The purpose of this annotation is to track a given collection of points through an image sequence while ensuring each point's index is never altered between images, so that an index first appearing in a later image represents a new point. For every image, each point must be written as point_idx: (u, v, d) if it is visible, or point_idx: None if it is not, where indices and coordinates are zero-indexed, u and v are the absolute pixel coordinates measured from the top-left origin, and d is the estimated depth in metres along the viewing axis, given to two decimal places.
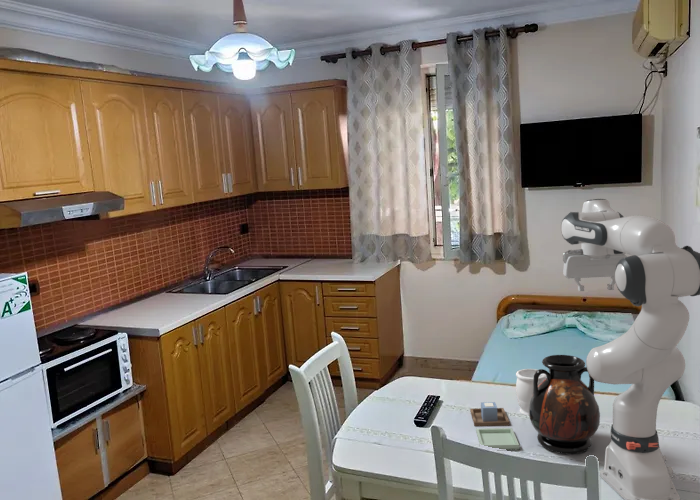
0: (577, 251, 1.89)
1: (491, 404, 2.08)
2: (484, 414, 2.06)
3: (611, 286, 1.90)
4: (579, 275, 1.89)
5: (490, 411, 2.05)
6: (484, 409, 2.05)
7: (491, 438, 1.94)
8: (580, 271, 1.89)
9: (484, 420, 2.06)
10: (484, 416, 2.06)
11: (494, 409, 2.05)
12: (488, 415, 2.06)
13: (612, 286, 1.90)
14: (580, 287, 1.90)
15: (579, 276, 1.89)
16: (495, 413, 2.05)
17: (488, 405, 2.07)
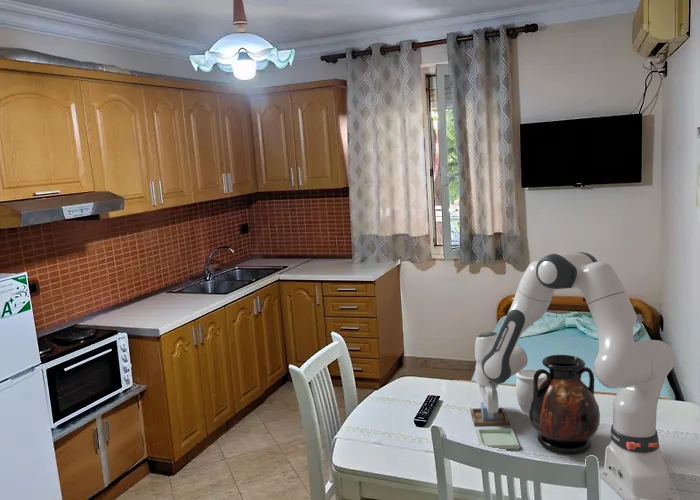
0: (492, 384, 2.00)
1: None
2: (484, 414, 2.06)
3: None
4: None
5: None
6: (484, 409, 2.05)
7: (491, 438, 1.94)
8: None
9: (484, 420, 2.06)
10: (484, 416, 2.06)
11: None
12: None
13: None
14: None
15: None
16: (495, 413, 2.05)
17: None
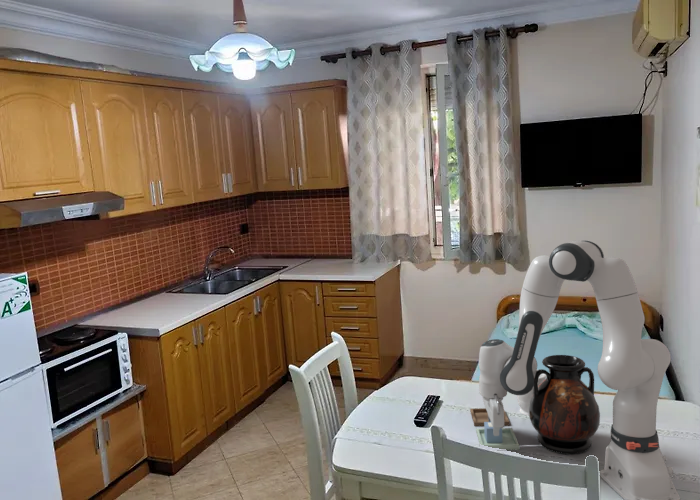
0: (497, 397, 1.84)
1: None
2: (488, 435, 1.90)
3: None
4: None
5: None
6: (488, 430, 1.90)
7: None
8: None
9: (488, 441, 1.90)
10: (488, 437, 1.90)
11: None
12: (492, 436, 1.90)
13: None
14: (498, 431, 1.87)
15: None
16: (500, 434, 1.90)
17: None
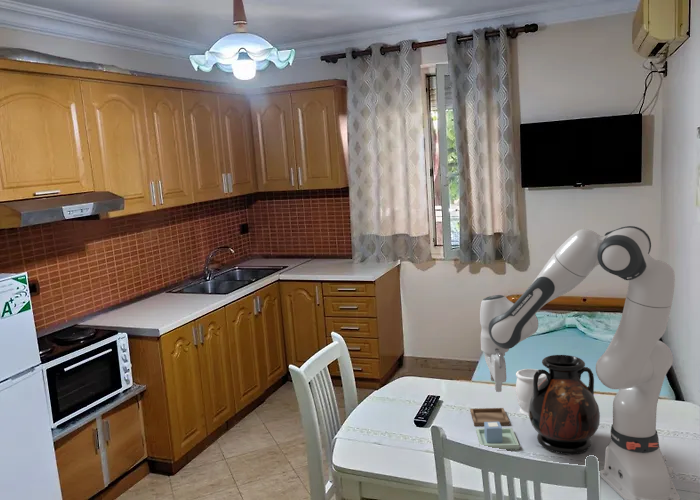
0: (499, 352, 1.82)
1: (495, 424, 1.92)
2: (488, 435, 1.90)
3: None
4: None
5: (494, 432, 1.90)
6: (488, 430, 1.90)
7: None
8: None
9: (488, 441, 1.90)
10: (488, 437, 1.90)
11: (499, 429, 1.89)
12: (492, 436, 1.90)
13: None
14: None
15: None
16: (500, 434, 1.90)
17: (492, 425, 1.91)
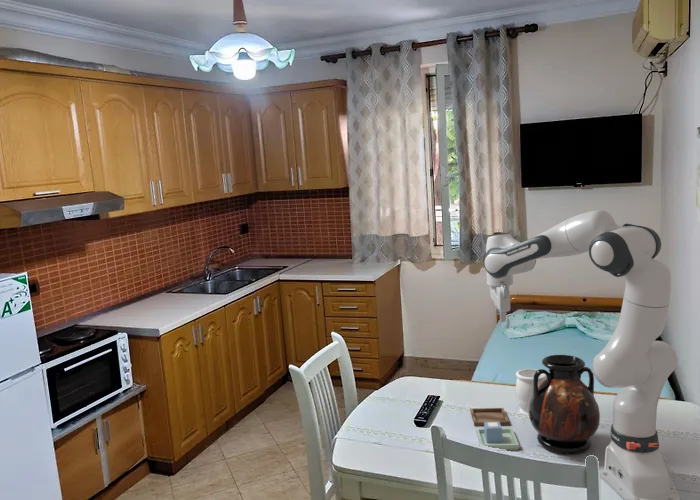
0: (504, 284, 1.96)
1: (495, 424, 1.92)
2: (488, 435, 1.90)
3: (500, 310, 2.09)
4: None
5: (494, 432, 1.90)
6: (488, 430, 1.90)
7: None
8: None
9: (488, 441, 1.90)
10: (488, 437, 1.90)
11: (499, 429, 1.89)
12: (492, 436, 1.90)
13: (500, 310, 2.09)
14: None
15: None
16: (500, 434, 1.90)
17: (492, 425, 1.91)
